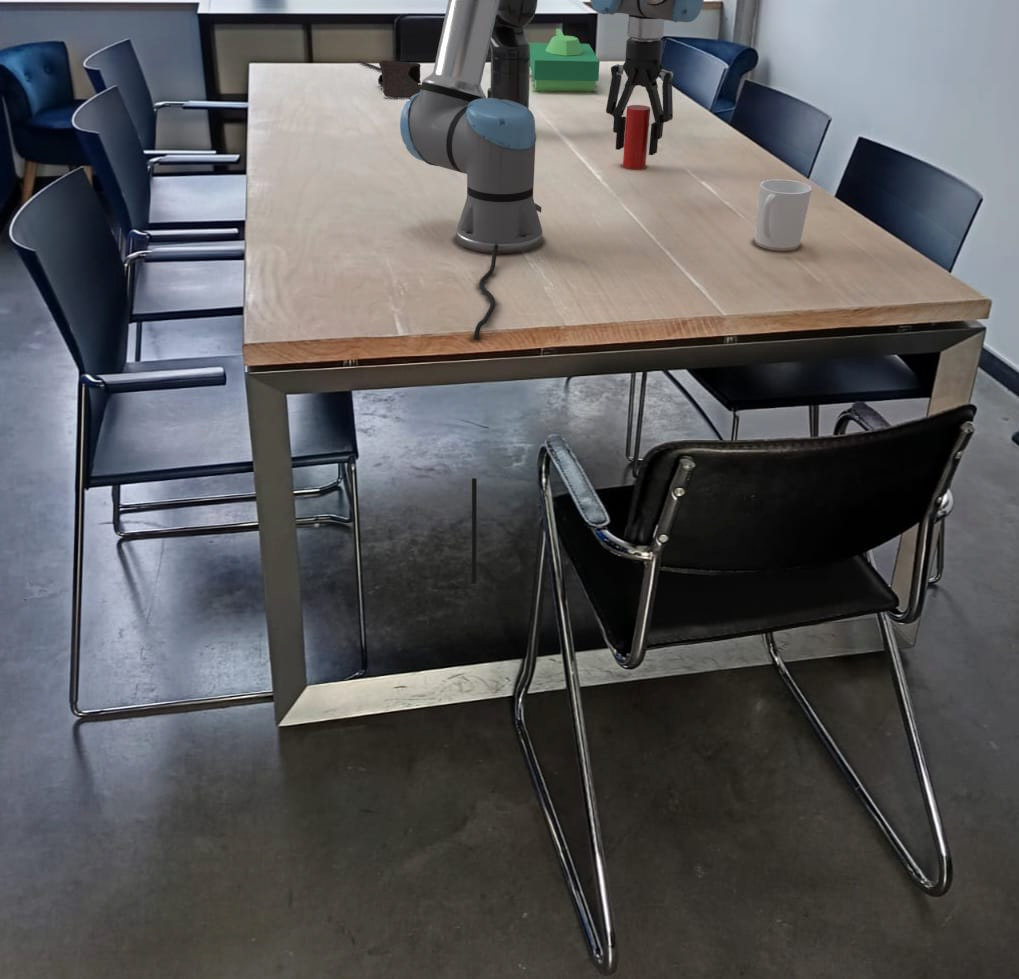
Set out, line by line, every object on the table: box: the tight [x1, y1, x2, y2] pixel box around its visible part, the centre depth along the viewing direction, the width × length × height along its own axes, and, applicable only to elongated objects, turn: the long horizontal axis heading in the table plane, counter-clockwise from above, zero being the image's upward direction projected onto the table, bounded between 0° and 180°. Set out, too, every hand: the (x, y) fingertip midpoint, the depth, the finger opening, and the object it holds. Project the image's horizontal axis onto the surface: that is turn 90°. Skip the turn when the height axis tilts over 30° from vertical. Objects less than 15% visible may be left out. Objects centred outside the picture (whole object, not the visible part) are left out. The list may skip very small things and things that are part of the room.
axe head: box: [377, 59, 422, 99], centre depth 299 cm, size 18×8×15 cm
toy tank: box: [529, 28, 601, 92], centre depth 313 cm, size 18×12×35 cm
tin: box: [622, 104, 651, 170], centre depth 236 cm, size 5×5×12 cm
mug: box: [754, 178, 812, 252], centre depth 194 cm, size 11×9×10 cm
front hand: (636, 150), depth 238 cm, fingers open, 7 cm apart
